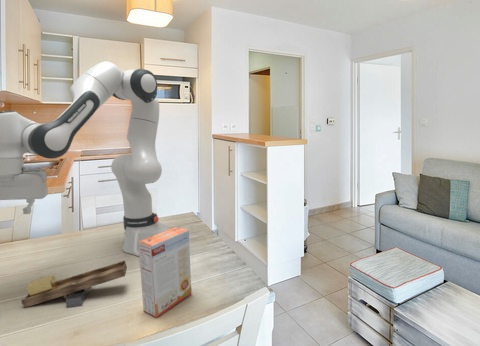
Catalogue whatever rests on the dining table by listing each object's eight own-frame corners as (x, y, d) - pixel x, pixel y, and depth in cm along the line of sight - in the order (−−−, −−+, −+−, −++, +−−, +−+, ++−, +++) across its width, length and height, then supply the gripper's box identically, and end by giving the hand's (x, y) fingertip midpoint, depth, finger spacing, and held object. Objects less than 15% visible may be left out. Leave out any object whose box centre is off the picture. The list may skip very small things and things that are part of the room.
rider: (58, 285, 92) (53, 274, 91) (54, 292, 89) (49, 280, 88) (36, 292, 91) (32, 280, 90) (31, 299, 87) (26, 287, 86)
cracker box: (178, 288, 96) (175, 225, 93) (192, 294, 93) (190, 229, 89) (141, 311, 85) (137, 240, 81) (156, 318, 81) (152, 245, 78)
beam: (127, 269, 98) (124, 260, 97) (125, 279, 92) (122, 268, 92) (33, 299, 92) (29, 289, 91) (25, 310, 86) (20, 300, 86)
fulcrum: (90, 284, 99) (90, 277, 98) (82, 305, 87) (81, 297, 87) (77, 285, 98) (76, 278, 97) (66, 307, 86) (65, 299, 86)
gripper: (49, 166, 93) (52, 210, 95) (-30, 166, 88) (-26, 212, 89) (41, 168, 87) (44, 215, 89) (-44, 169, 82) (-39, 218, 83)
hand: (8, 214), depth 89 cm, fingers open, 8 cm apart
